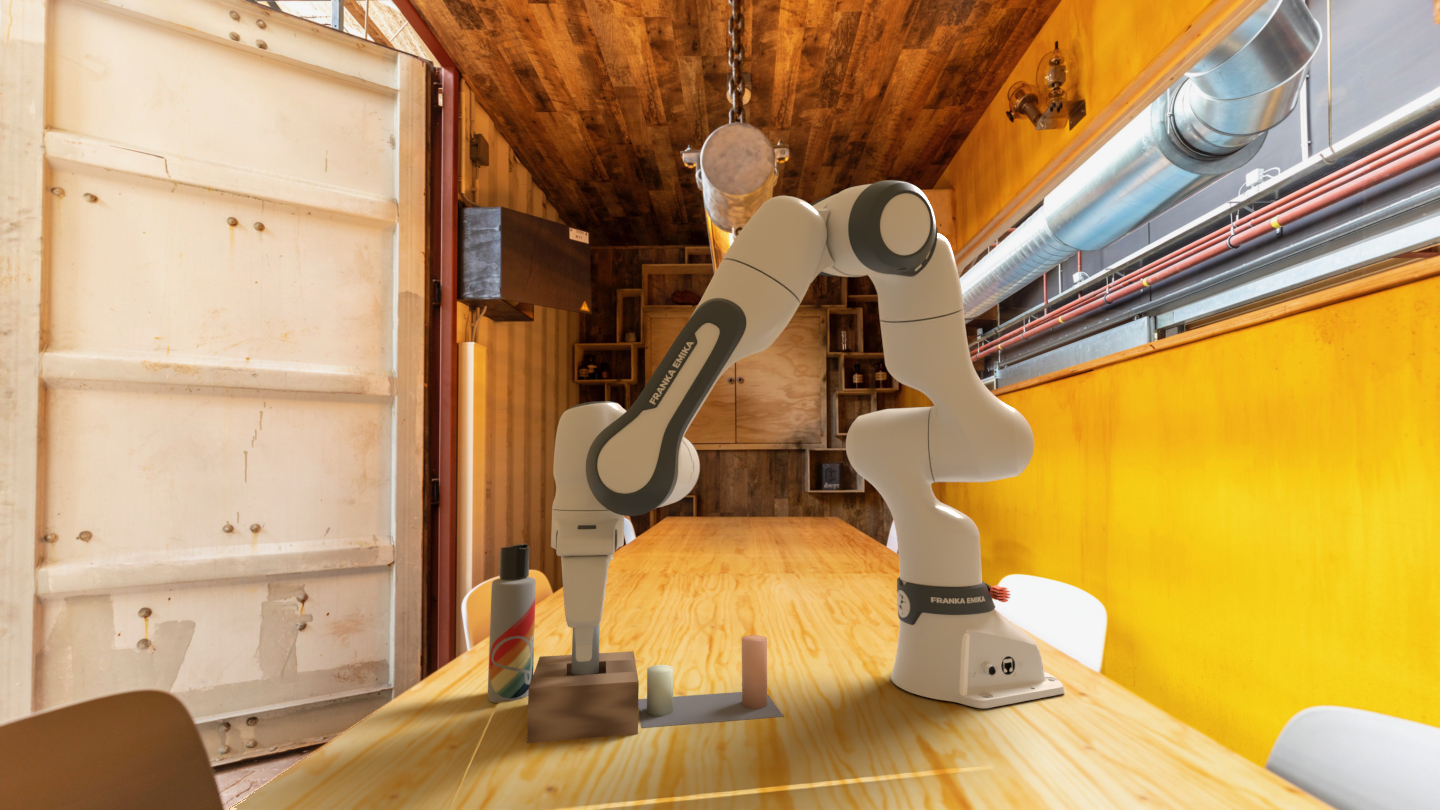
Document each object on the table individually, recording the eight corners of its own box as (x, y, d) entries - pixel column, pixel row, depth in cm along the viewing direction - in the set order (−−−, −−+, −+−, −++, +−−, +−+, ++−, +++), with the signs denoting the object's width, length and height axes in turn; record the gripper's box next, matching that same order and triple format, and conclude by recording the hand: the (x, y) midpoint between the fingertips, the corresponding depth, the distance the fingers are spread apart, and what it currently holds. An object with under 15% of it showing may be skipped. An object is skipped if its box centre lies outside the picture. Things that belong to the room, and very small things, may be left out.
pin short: (671, 705, 77) (671, 664, 78) (674, 715, 74) (674, 672, 75) (645, 707, 76) (646, 665, 77) (647, 717, 73) (648, 673, 74)
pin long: (598, 669, 75) (600, 552, 79) (598, 673, 72) (601, 551, 76) (571, 671, 75) (575, 553, 78) (570, 675, 71) (574, 552, 75)
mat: (764, 693, 82) (764, 690, 82) (784, 719, 73) (784, 716, 74) (637, 702, 79) (637, 699, 79) (641, 731, 70) (641, 727, 70)
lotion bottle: (518, 705, 78) (523, 546, 80) (478, 702, 79) (484, 545, 81) (540, 690, 84) (544, 541, 86) (502, 687, 85) (507, 540, 87)
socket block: (632, 698, 80) (633, 651, 81) (637, 737, 69) (638, 681, 69) (538, 705, 78) (539, 656, 79) (526, 746, 67) (528, 688, 67)
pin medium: (763, 698, 79) (763, 634, 80) (770, 707, 76) (769, 641, 77) (739, 700, 79) (739, 635, 80) (745, 709, 76) (744, 642, 76)
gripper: (567, 525, 86) (564, 627, 84) (555, 542, 66) (551, 676, 64) (612, 524, 87) (610, 625, 85) (615, 540, 67) (612, 672, 65)
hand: (585, 647), depth 75 cm, fingers open, 8 cm apart
